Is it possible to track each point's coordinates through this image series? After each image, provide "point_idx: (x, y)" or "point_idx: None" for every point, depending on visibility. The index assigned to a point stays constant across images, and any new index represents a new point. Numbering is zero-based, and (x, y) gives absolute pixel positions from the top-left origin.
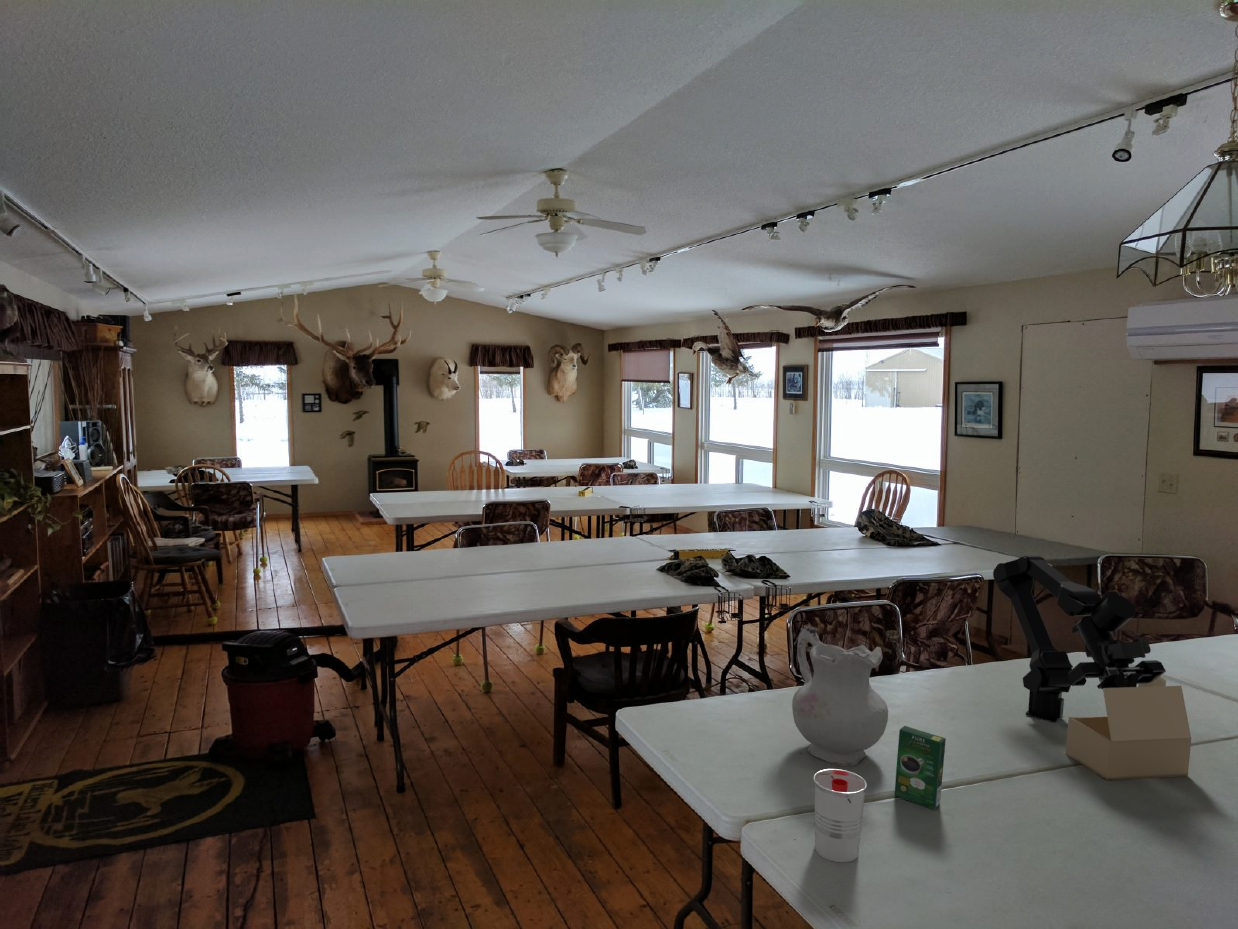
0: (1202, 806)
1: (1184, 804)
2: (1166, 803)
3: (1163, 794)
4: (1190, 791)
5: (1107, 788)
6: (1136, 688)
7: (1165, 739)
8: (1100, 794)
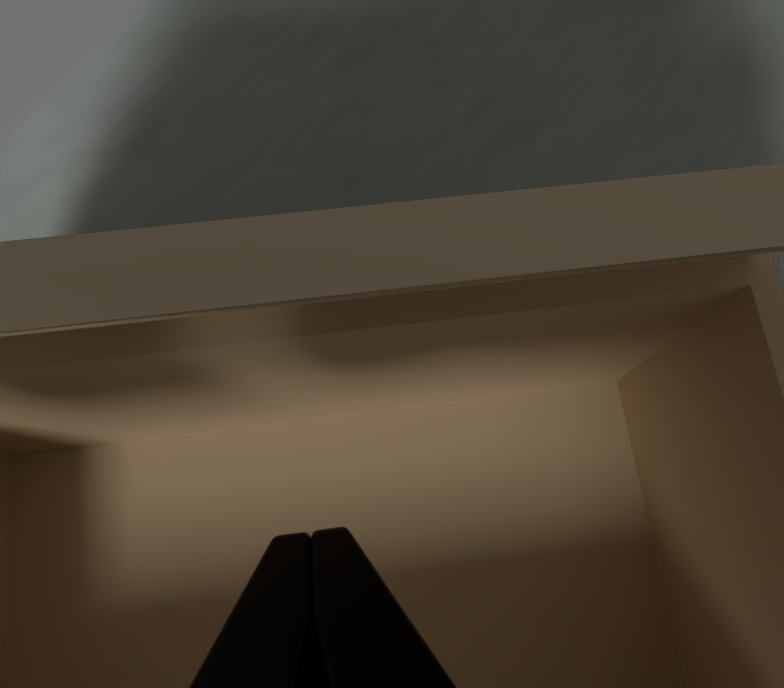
0: (230, 69)
1: (319, 89)
2: (417, 99)
3: (362, 195)
4: None
5: None
6: (524, 190)
7: (120, 326)
8: None
